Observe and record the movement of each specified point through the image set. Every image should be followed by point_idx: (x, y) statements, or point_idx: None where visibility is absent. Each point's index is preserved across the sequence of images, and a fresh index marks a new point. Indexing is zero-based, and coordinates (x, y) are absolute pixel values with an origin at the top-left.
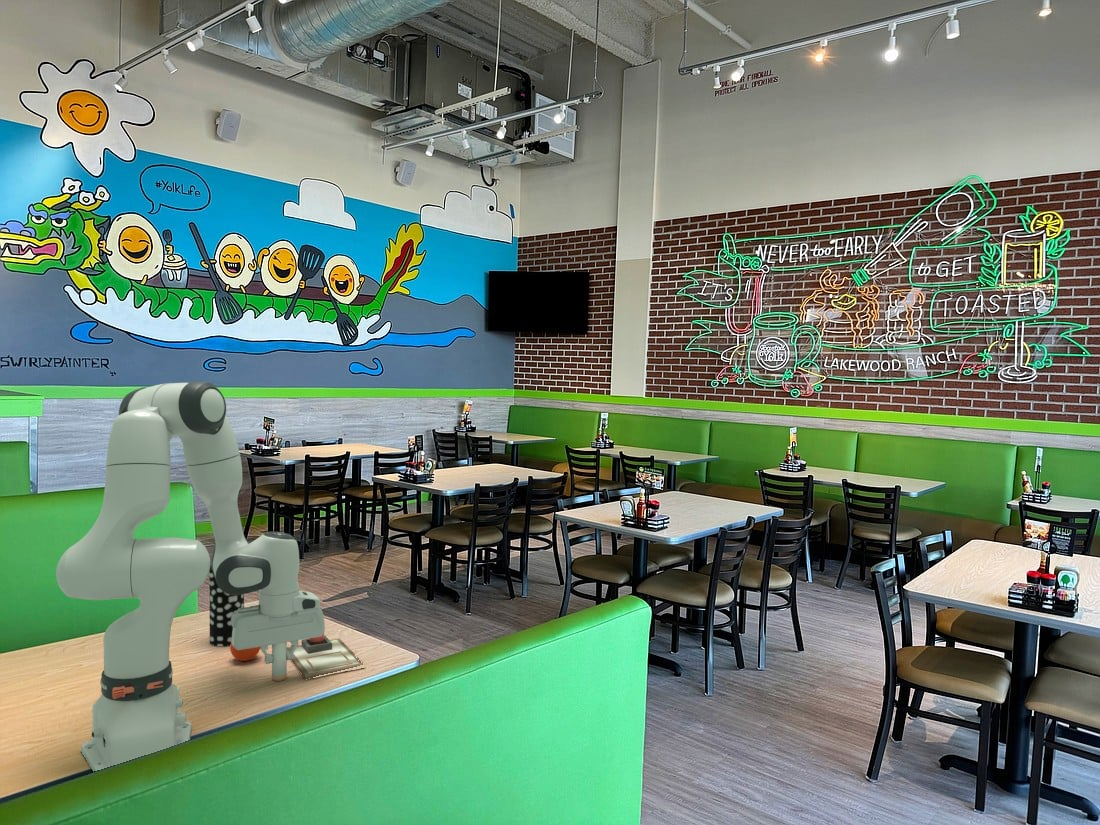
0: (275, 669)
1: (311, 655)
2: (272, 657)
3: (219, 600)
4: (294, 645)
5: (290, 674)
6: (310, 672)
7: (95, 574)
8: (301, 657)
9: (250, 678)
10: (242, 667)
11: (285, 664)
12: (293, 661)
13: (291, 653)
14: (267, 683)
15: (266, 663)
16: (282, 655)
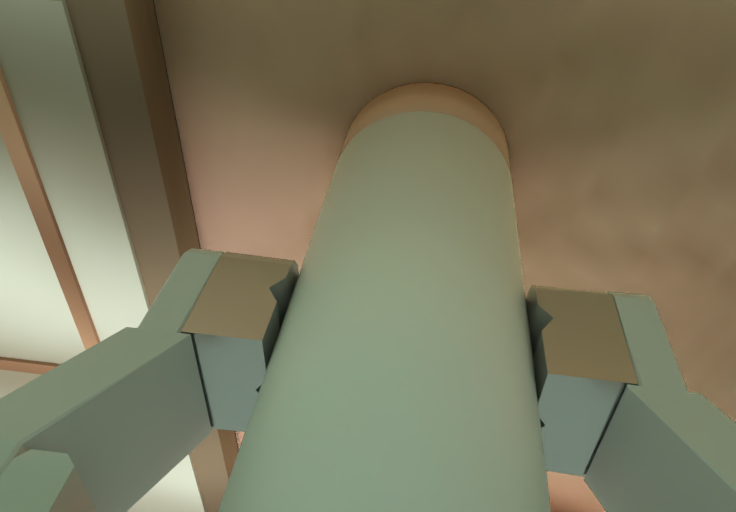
0: (496, 191)
1: None
2: (558, 351)
3: None
4: (44, 444)
5: (287, 198)
6: (40, 13)
7: None
8: None
9: (665, 315)
10: (592, 498)
11: (338, 203)
12: None
13: (183, 319)
14: (595, 106)
15: (648, 300)
16: (372, 304)
